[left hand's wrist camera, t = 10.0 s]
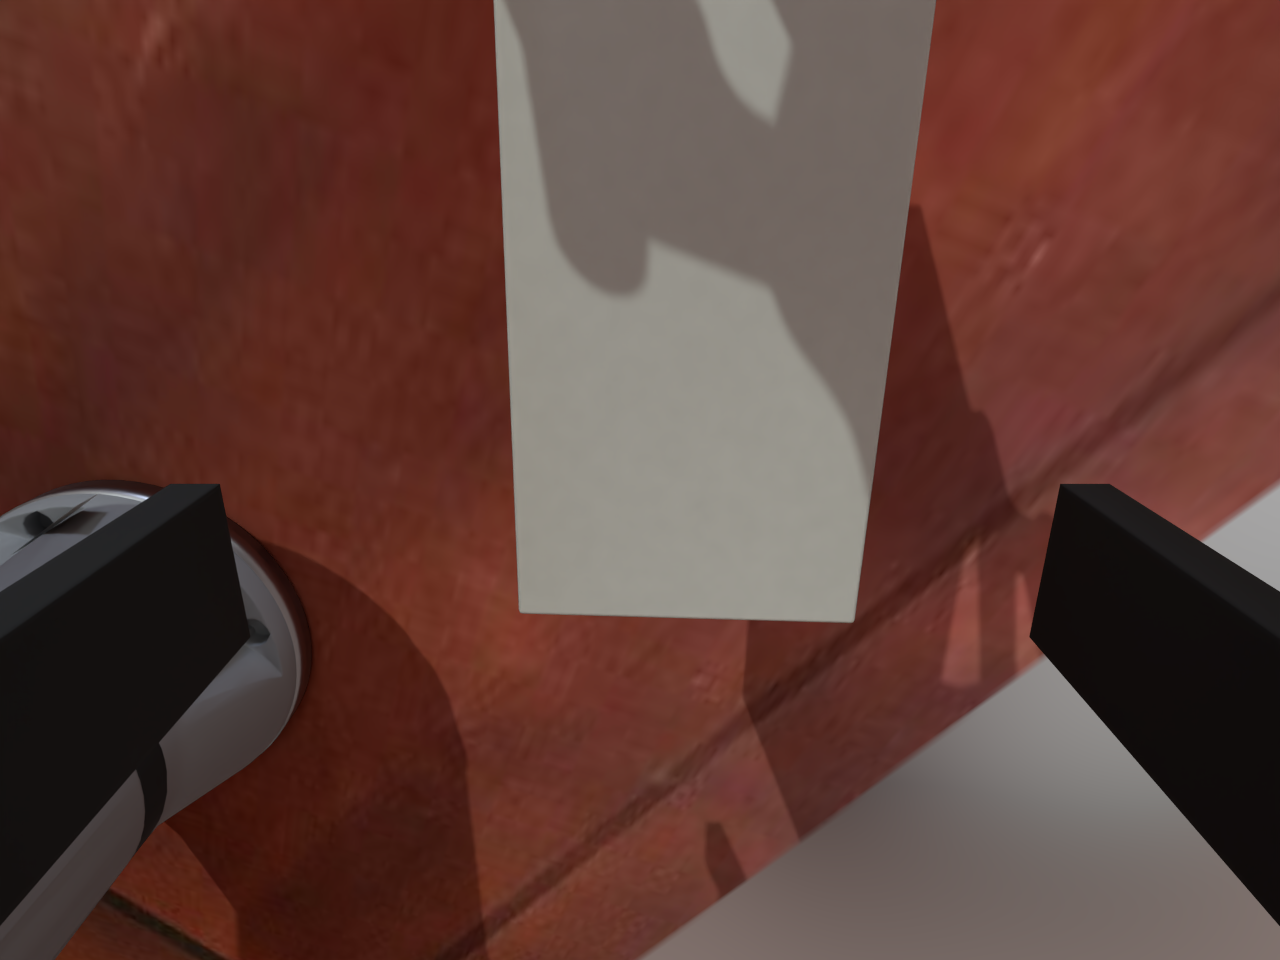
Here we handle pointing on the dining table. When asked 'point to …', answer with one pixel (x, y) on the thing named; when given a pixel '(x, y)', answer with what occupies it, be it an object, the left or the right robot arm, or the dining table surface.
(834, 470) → the bar
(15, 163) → the dining table surface
